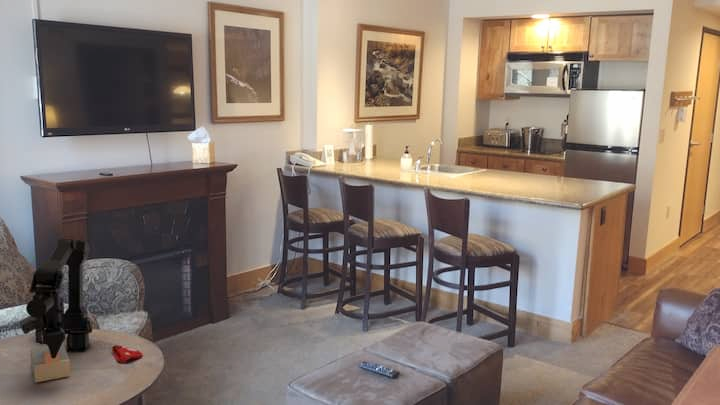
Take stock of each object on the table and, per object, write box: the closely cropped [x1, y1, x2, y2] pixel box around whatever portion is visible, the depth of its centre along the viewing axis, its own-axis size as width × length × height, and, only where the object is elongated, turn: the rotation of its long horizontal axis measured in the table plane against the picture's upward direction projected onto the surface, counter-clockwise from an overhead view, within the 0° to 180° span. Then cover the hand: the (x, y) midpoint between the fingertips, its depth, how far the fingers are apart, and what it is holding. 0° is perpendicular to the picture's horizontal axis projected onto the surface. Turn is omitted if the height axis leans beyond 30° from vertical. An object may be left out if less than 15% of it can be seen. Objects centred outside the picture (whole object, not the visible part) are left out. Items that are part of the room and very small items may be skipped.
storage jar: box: [34, 296, 65, 345], centre depth 224 cm, size 10×10×15 cm
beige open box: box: [34, 351, 71, 383], centre depth 200 cm, size 14×10×10 cm
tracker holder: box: [110, 343, 143, 364], centre depth 214 cm, size 12×4×10 cm
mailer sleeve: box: [29, 342, 70, 381], centre depth 201 cm, size 14×10×6 cm
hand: (51, 352), depth 194 cm, fingers open, 9 cm apart
